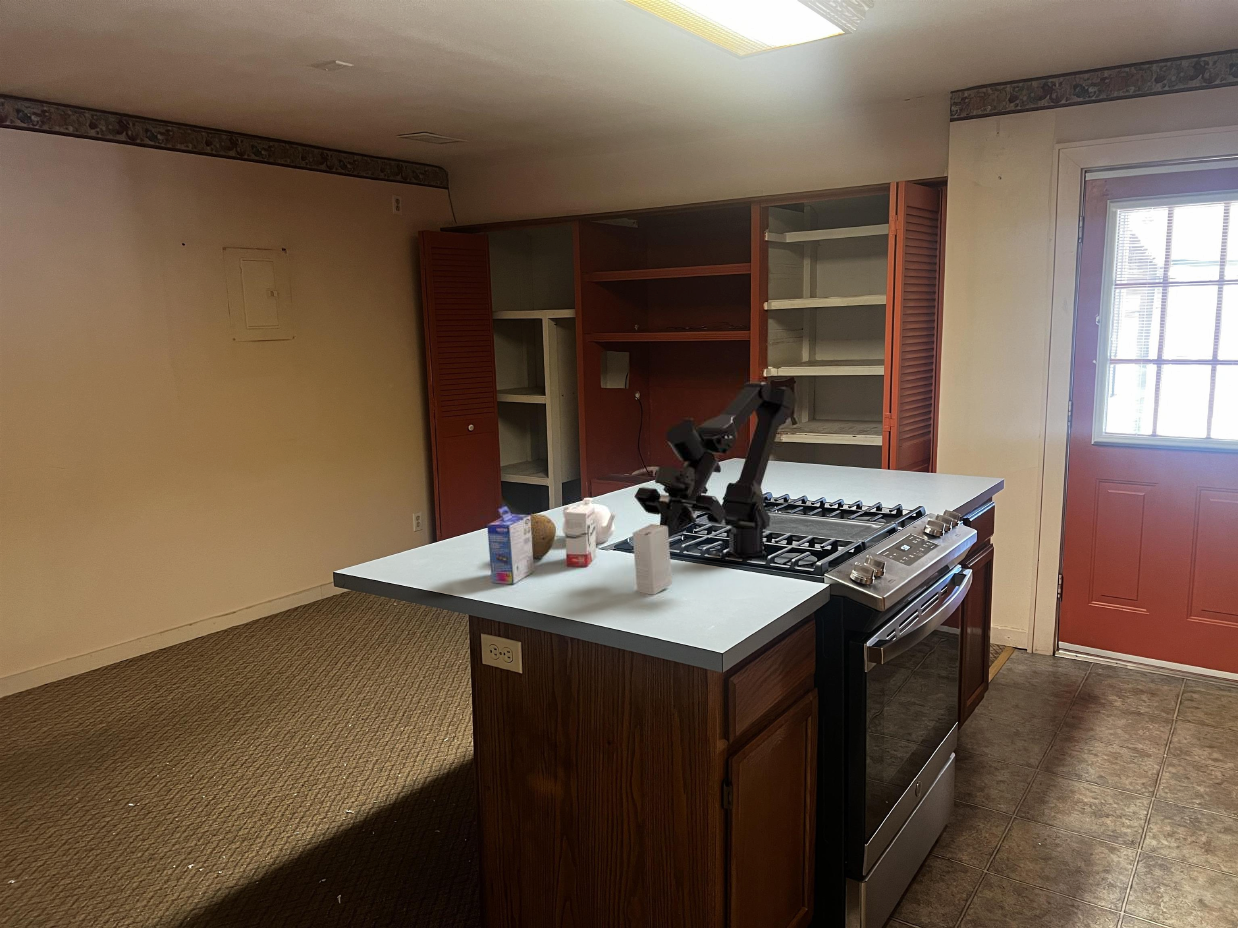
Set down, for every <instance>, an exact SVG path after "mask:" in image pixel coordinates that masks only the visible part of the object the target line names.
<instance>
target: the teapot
mask: <svg viewBox="0 0 1238 928" xmlns="http://www.w3.org/2000/svg"><path fill="white" fill-rule="evenodd" d="M592 501H593V498H592V497H585V498H583V502H584V503H583V504H581V505H586V506H595V537H596V545H598V544H602V543H603V544H604V543H606V542H607V541H609V539H610V538H611V537H612V535H613V534H614V532H615V523H614V520H615V518H616V517H617V516H618V514H617V513H611V512H610V510H609V508H608V507H607V506H605V505H603V504H599V503H598V504H597V503H592ZM570 507H571V506H567V507H564V508H563V510H562V515H563V518H564V521H563V524H562V534H563V535H564V536H565V537H566V533H565V513H566V512H565V511H566V510H568V509H569V508H570Z"/></svg>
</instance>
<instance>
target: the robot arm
mask: <svg viewBox="0 0 1238 928" xmlns="http://www.w3.org/2000/svg"><path fill="white" fill-rule="evenodd" d="M742 386H743V387H742V390H741V391H740V392H739V393H738V394H737V395H736V397H734V399H733V400H732V401H731V402H730V403H729V404H728V406H727V407H725V409H724V410H723V411H722V412H720V414H719V415H717V416H716V417H713V418H711V419H708V420H706V421H705V422H703V423H702V424H700V425H699V426H698V427H697V426H696V423H695V421H694V419H693V418H683V420H682V422H679V423H676V424H674V426H672V427H671V428H670V429H668V430H667V432H666V435H665V438H666V439H665V440H666V441H667V442H668V444H669V445H670V447H671V448H672V451H673V452H674V454H675V455H676V457H677V458H678V459H679V460H680V461H682V462H684V465H683V466H682V467H681V468H676V467H671V466H669V467H668V466H662V465H661V466H658V467H657V471H656V475H655V478H654V483H656V484H660V485H662V486H663V488H662V489H663V492H665V494H663V493H660V492H659V491H658V489H657V488H655V487H654V488H652V487H646V486H642V487H639V488H638V489H637V491H636V493H635V495H634V498H635V500H636V501H637V502H638V504H639V505H640V507H642V509H643V510H644V511H645V512H646V513H648V514H653V515H658V516H659V515H660V517H659V518H660V520H659V525H663V526H667V527H668V536H669V538H670V537H673V536H674V535H675V534H677V532H679V531H681V530H683V529H685V528H686V527H688V526H690V525H691V524H692V525H693V524H696V522H697V519H696V518H697V516H698V515H699V514H700V513H705V514H707V516H706V520H707V521H708V522H709V523H711V524H718V525H721V524H722V523H723V522H724V524H725V526H727V527H728V526H730V527H731V528H730V529H731V532H729V533H728V536H729V537H728V540H729V541H728V544H729V545H728V548H727V549H728V552H729V553H731V554H732V555H734V556H735V557H737V558H747V557H746V556H752V557H760V556H767V552H765V551H764V530H768V528H769V526H770V523H771V516H770V514H769V512H768V511H767V510H766V508H765V507H764V502H765V497H764V493H763V490H762V483H763V480H764V477H765V474H766V471H767V467H768V465H769V461H770V458H771V455H772V450H773V447H774V444H775V441H776V439H777V435H778V432H779V428H780V427H781V426H782V425H783V424H784V423H785V422H786V421H788V420H789V418H790V417H791V415H792V412H793V410H794V407H795V405H796V403H797V402H796V400H797V398H796V395H795V393H794V392H793V391H792V389H791V388H790V387H783V386H782V387H781V386H774V385H771V384H769V383H766V382H762V381H761V382H760V381H759V382H758V381H749V382H745V383H744V385H742ZM754 412H755V413H754ZM753 414H755V416H756V424H755V427H754V430H753V433H752V436H751V437H752V438H751V439H750V443H749V447H748V450H747V453H746V456H745V459H744V462H743V465H742V469H741V472H740V475H739V478H738V479H737V480H736V482H729V483H728V484H727V485H726V490H725V493H724V496H723V497H722V503H720V501H719V499H718V498H717V497H716V496H715V495H707V493H708V491H709V490H708V487H707V484H708V482H709V480H710V478H711V476H712V474H713V473H719V474H720V473H721V472H722V467H721V465H720V462H719V461H720V459H718V458H716V456H715V454H717V455H727V454H729V453H730V452H731V450H732V449H733V447H734V446H735V444H736V443H737V441H738V431H739V429H740V428H741V427H743V425H744V424H745V423H746V422H747V420H748V419H749V418H750V417H751V416H752V415H753Z"/></svg>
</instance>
